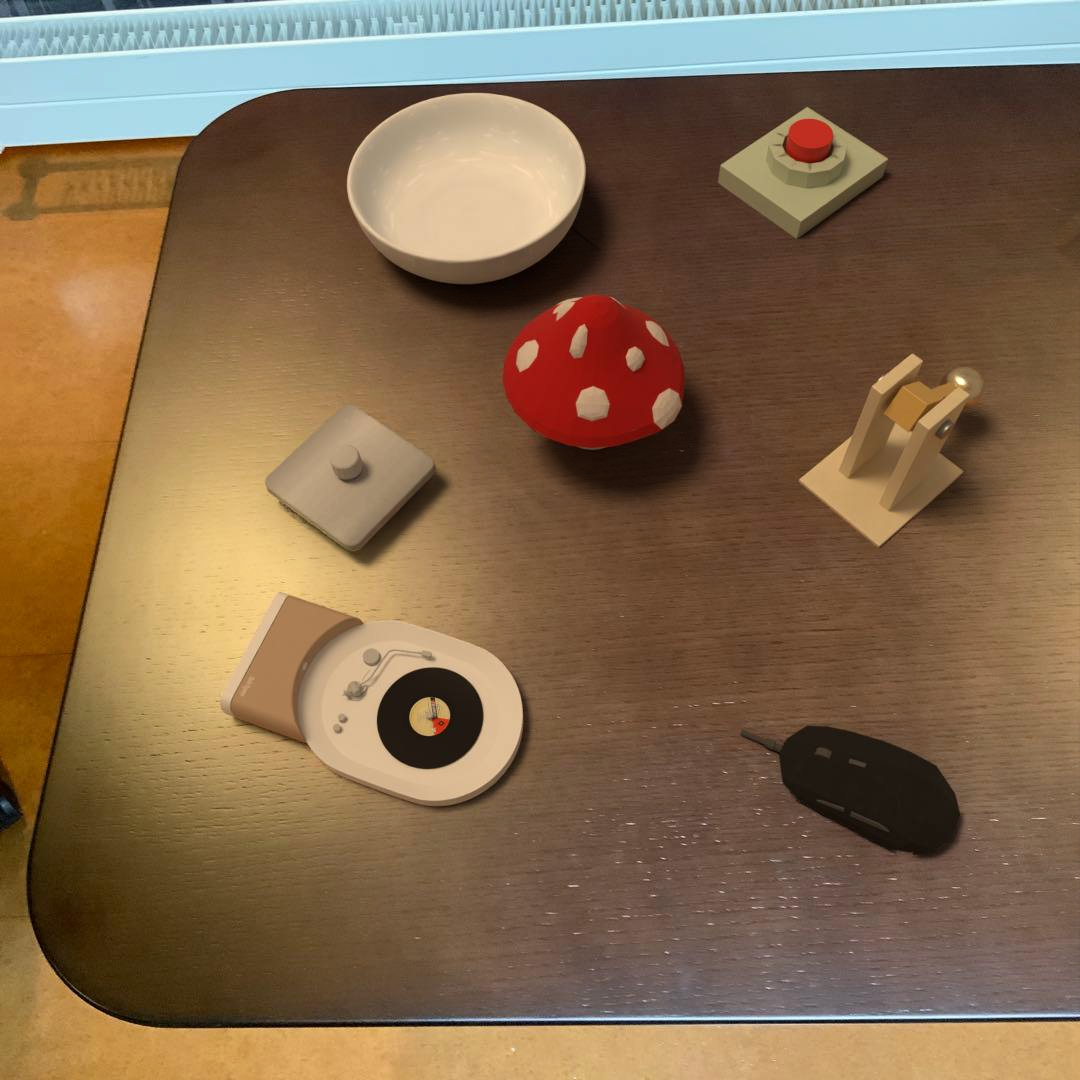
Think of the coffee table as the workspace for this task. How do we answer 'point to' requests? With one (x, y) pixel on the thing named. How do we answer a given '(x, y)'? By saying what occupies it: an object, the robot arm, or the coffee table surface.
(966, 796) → the coffee table surface
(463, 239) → the serving bowl
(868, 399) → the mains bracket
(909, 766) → the gaming mouse
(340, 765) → the record player
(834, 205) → the lamp box
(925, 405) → the lever
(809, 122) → the lamp button
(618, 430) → the decorative mushroom
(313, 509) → the light switch
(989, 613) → the coffee table surface
